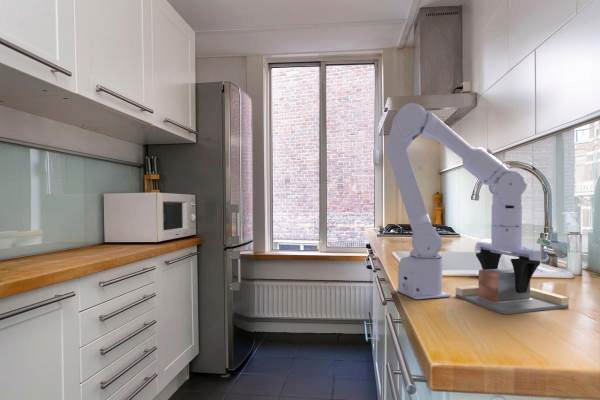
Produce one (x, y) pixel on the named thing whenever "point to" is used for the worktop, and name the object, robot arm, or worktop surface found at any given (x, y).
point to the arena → (515, 301)
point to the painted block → (499, 285)
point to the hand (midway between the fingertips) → (505, 287)
